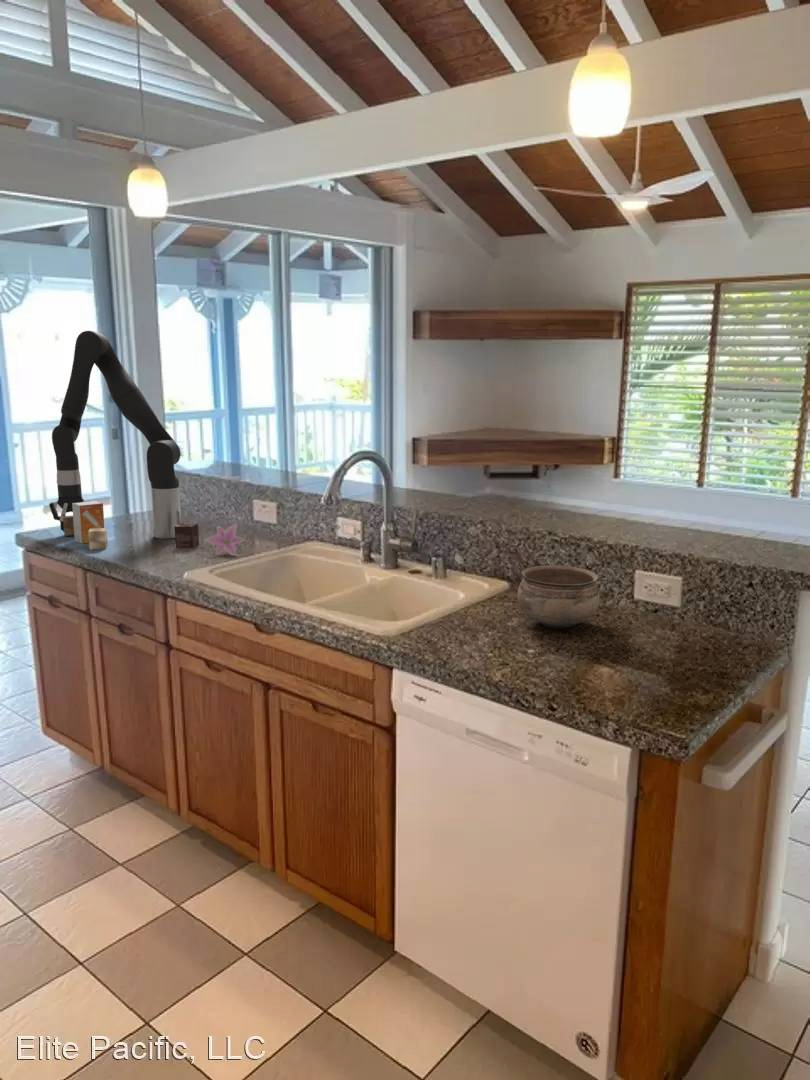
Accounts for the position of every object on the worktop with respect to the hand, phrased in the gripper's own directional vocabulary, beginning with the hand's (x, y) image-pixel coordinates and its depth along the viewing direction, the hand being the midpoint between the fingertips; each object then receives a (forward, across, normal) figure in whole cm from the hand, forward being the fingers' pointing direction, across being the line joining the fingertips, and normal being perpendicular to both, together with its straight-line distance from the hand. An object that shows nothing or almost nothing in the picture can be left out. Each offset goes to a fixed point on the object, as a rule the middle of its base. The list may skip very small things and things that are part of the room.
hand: (73, 531), depth 279 cm
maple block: (+2, -11, +22) cm, 24 cm away
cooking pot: (+3, -125, +126) cm, 177 cm away
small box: (+2, -7, +11) cm, 13 cm away
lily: (+2, -51, +37) cm, 63 cm away
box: (+2, -39, +25) cm, 46 cm away
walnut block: (+1, 0, 0) cm, 1 cm away
